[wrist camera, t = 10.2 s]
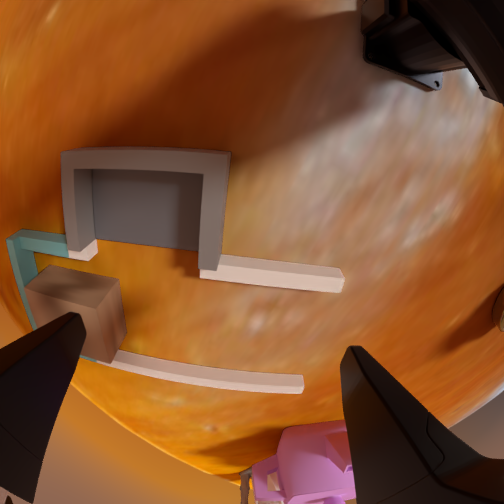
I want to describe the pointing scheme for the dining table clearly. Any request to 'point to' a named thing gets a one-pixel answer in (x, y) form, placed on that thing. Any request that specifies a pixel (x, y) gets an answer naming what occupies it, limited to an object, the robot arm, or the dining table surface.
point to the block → (81, 307)
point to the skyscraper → (245, 475)
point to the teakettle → (309, 466)
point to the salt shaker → (499, 311)
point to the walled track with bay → (161, 239)
